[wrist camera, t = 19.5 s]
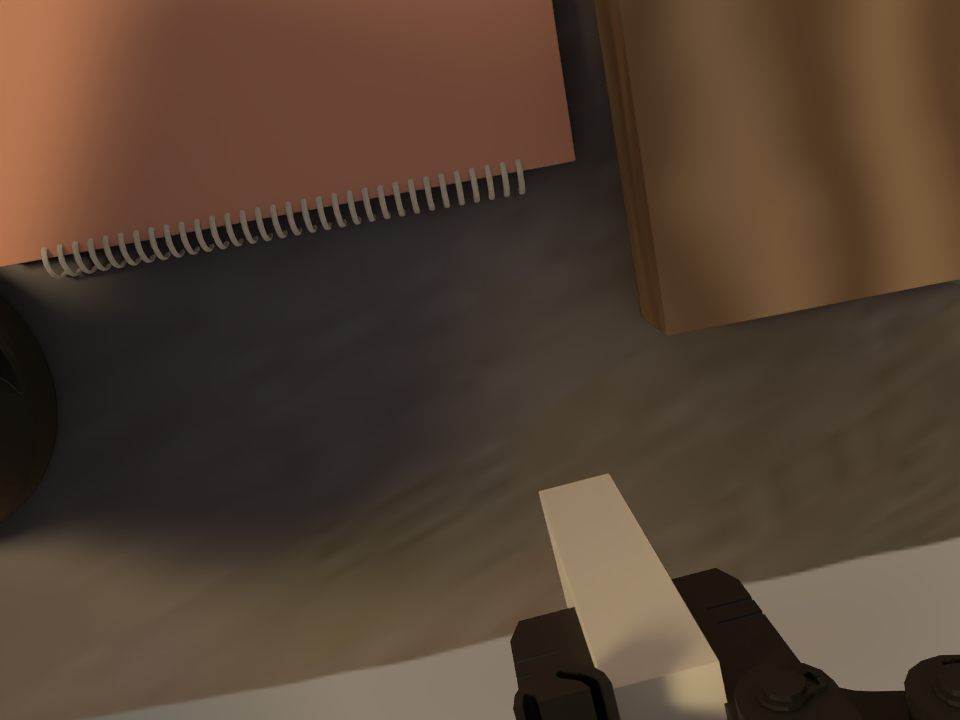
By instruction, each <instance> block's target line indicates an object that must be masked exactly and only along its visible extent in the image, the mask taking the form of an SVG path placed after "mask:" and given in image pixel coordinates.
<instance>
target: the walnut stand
mask: <svg viewBox="0 0 960 720" xmlns="http://www.w3.org/2000/svg"><path fill="white" fill-rule="evenodd" d="M594 5H595V11H596V18H597V25H598V31H599V38H600V44H601V51H602V58H603V64H604V71H605V78H606V84H607V91H608V98H609V104H610V111H611V117H612V124H613V131H614V137H615V144H616V151H617V157H618V164H619V170H620V177H621V184H622V190H623V197H624V204H625V210H626V217H627V223H628V230H629V237H630V243H631V250H632V257H633V263H634V270H635V276H636V283H637V290H638V296H639V303H640V310H641V316H642V317H643V318H644V319H646V320H647V321H648V322H649V323H651V324H652V325H653V326H655V327H656V328H657V329H658V330H660V331H661V332H662V333H664V334H665V335H666V336H670V335H675V334H681V333H686V332H691V331H696V330H701V329H706V328H711V327H717V326H722V325H727V324H732V323H737V322H742V321H747V320H753V319H758V318H763V317H768V316H773V315H778V314H783V313H788V312H794V311H799V310H804V309H809V308H814V307H819V306H824V305H830V304H835V303H840V302H845V301H850V300H855V299H860V298H865V297H871V296H876V295H881V294H886V293H891V292H896V291H901V290H907V289H912V288H917V287H922V286H927V285H932V284H937V283H942V282H948V281H953V280H958V279H960V0H594Z"/></svg>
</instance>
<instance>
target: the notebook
mask: <svg viewBox="0 0 960 720" xmlns="http://www.w3.org/2000/svg"><path fill="white" fill-rule="evenodd" d="M570 161H576V160H575V153H574V147H573V140H572V133H571V127H570V120H569V113H568V106H567V100H566V93H565V86H564V80H563V73H562V66H561V59H560V53H559V46H558V39H557V33H556V26H555V19H554V12H553V6H552V0H0V267H1V266H9V265H15V264H20V263H25V262H31V261H36V260H43V265H44V267H45V268H46V270H47V272H48V273H49V274H50V276H51V277H53V278H55V279H58V280H59V279H62V278H64V277H66V276H67V274H68V275H70V276H73V277H75V276H78V275H80V274H81V273H82V271H83V272H85V273H87V274H91V273H93V272H95V271H96V270H97V268H98V269H100V270H102V271H107V270H109V269H110V268H111V266H112V265H113V266H114V267H116V268H122V267H124V266H125V265H126V263H129V264H130V265H133V266H134V265H137V264H139V263H140V261H141V260H143V261H145V262H147V263H150V262H153V261H154V260H155V258H156V256H157V257H158V258H159V259H161V260H166V259H168V258H169V256H170V255H171V254H170V252H171V253H172V254H173V255H174V256H175V257H177V258H179V257H182V256H183V255H184V253H185V250H184V249H182V250H180V253H178V252H177V251H176V249H175V247H174V246H173V243H172V239H171V236H172V235H177V234H180V236H181V241H182V243H183V245H184V247H185V249H186V251H187V252H189V253H190V254H192V255H194V254H197V253H198V252H199V250H200V248H199V246H197V247H196V248H195V249H194V251H193V250H192V248H191V246H190V244H189V242H188V239H187V236H186V233H188V232H193V231H195V233H196V237H197V239H198V242H199V244H200V246H201V248H202V249H203V250H205V251H206V252H210V251H212V250H213V248H214V244H211V245H209V248H208V247H207V245H206V243H205V241H204V239H203V236H202V232H201V230H204V229H211V233H212V236H213V238H214V241H215V243H216V245H217V246H218V247H219V248H220V249H226V248H227V247H228V245H229V242H228V241H226V242H224V244H222V242H221V240H220V238H219V236H218V232H217V229H216V227H221V226H226V229H227V233H228V235H229V237H230V240H231V242H232V243H233V244H234V245H235V246H241V245H242V244H243V242H244V240H243V238H241V239H239V241H237V239H236V237H235V235H234V232H233V228H232V225H231V224H237V223H241V225H242V230H243V232H244V234H245V237H246V239H247V240H248V241H249V242H250V243H251V244H254V243H256V242H257V241H258V236H254V237H253V238H252V236H251V234H250V232H249V228H248V225H247V222H248V221H253V220H256V221H257V226H258V229H259V231H260V234H261V236H262V237H263V239H264V240H265V241H270V240H271V239H272V238H273V234H272V233H269V234H268V236H267V234H266V231H265V228H264V225H263V221H262V219H264V218H269V217H272V222H273V225H274V228H275V230H276V233H277V235H278V236H279V237H280V238H285V237H287V234H288V232H287V230H285V231H283V232H282V230H281V227H280V225H279V221H278V217H277V216H280V215H286V214H287V218H288V222H289V224H290V227H291V230H292V232H293V233H294V234H295V235H301V234H302V228H298V229H297V227H296V224H295V221H294V217H293V213H296V212H302V214H303V218H304V221H305V224H306V227H307V229H308V230H309V232H311V233H313V232H316V231H317V226H316V225H313V226H312V223H311V221H310V217H309V213H308V210H313V209H318V214H319V217H320V220H321V223H322V226H323V227H324V229H325V230H329V229H331V227H332V224H331V222H328V223H327V220H326V217H325V213H324V209H323V208H324V207H329V206H333V210H334V214H335V217H336V220H337V223H338V225H339V226H340V227H345V226H346V223H347V221H346V220H345V219H344V220H342V217H341V214H340V210H339V205H340V204H345V203H348V205H349V210H350V213H351V217H352V220H353V222H354V224H356V225H358V224H360V223H361V218H360V217H357V214H356V210H355V205H354V202H356V201H361V200H363V201H364V206H365V210H366V213H367V217H368V219H369V221H371V222H373V221H375V220H376V215H375V214H373V213H372V210H371V206H370V201H369V199H372V198H378V197H379V202H380V206H381V210H382V213H383V216H384V218H385V219H389V218H390V217H391V213H390V211H388V210H387V206H386V202H385V197H384V196H389V195H394V196H395V201H396V205H397V210H398V213H399V216H405V213H406V212H405V209H403V206H402V202H401V197H400V193H405V192H410V197H411V202H412V207H413V210H414V213H415V214H419V212H420V207H418V203H417V198H416V193H415V191H416V190H421V189H425V193H426V198H427V203H428V207H429V210H430V211H434V210H435V204H434V203H433V199H432V193H431V188H432V187H437V186H440V188H441V194H442V199H443V203H444V207H445V208H449V207H450V202H449V199H448V194H447V189H446V185H448V184H454V183H456V188H457V194H458V200H459V204H460V205H464V204H465V201H464V195H463V189H462V183H461V182H464V181H470V180H471V184H472V190H473V196H474V202H475V203H478V202H479V201H480V197H479V191H478V184H477V179H481V178H487V185H488V191H489V194H488V196H489V199H490V200H494V198H495V193H494V185H493V179H492V176H497V175H502V180H503V187H504V191H503V194H504V196H505V197H509V196H510V187H509V180H508V173H513V172H517V175H518V182H519V188H518V192H519V194H524V193H525V182H524V175H523V171H524V170H529V169H535V168H540V167H546V166H551V165H557V164H562V163H565V162H570ZM161 237H165V240H166V244H167V246H168V248H169V250H170V252H167V253H165V256H163V255H162V254H161V252H160V250H159V248H158V246H157V243H156V240H155V239H156V238H161ZM145 240H150V244H151V247H152V249H153V251H154V253H155V255H156V256H155V255H152V256H151V257H150V259H148V258H147V257H146V255H145V253H144V252H143V249H142V246H141V243H140V241H145ZM128 243H135V248H136V250H137V252H138V254H139V256H140V257H141V258H140V257H138V258H137V259H136V260H135V262H134V261H133V260H132V259H131V258H130V256H129V255H128V253H127V250H126V247H125V244H128ZM118 245H119V247H120V251H121V253H122V255H123V257H124V259H125V260H123V261H122V262H121V264H120V265H119V264H118V263H117V262H116V261H115V259H114V257H113V256H112V253H111V250H110V247H112V246H118ZM101 248H104V251H105V255H106V256H107V258H108V260H109V261H110V263H108V264H107V265H106V267H105V268H104V267H103V266H102V265H101V264H100V262H99V261H98V259H97V256H96V253H95V250H96V249H101ZM85 251H89V254H90V258H91V259H92V261H93V263H94V264H95V266H93V267H92V269H91V270H89V269H87V268H86V266H85V265H84V264H83V262H82V259H81V257H80V254H79V253H80V252H85ZM69 254H74V258H75V261H76V262H77V264H78V266H79V267H80V268H79V269H78V270H77V271H76V273H74V272H72V271H71V270H70V268H69V267H68V266H67V264H66V261H65V258H64V256H63V255H69ZM53 257H58V259H59V263H60V265H61V266H62V268H63V269H64V272H63V273H62V274H61V275H60V276H59V275H57V274H56V273H55V272H54V271H53V269H52V268H51V266H50V263H49V261H48V258H53Z"/></svg>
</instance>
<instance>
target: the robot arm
mask: <svg viewBox="0 0 960 720" xmlns="http://www.w3.org/2000/svg"><path fill="white" fill-rule="evenodd" d="M56 429H57V404H56V396H55V390H54V385H53V381H52V378H51V374H50V371H49V368H48V365H47V362H46V360H45V358H44V355H43V353H42V351H41V349H40V347H39V345H38V343H37V341H36V339H35V338H34V336H33V335H32V333H31V331H30V330H29V328H28V327H27V326H26V324H25V323H24V321H23V320H22V319H21V317H20V316H19V315H18V314H17V313H16V312H15V310H14V309H13V308H12V307H11V306H10V305H9V304H8V303H7V302H6V301H5V300H4V299H3V298H2V297H1V296H0V522H2V521H3V520H4V519H6V518H7V517H8V516H10V515H11V514H12V513H13V512H14V511H16V510H17V509H18V508H19V507H20V506H21V505H22V504H23V503H24V502H25V501H26V500H27V498H28V497H29V496H30V495H31V494H32V492H33V491H34V489H35V488H36V487H37V485H38V483H39V482H40V480H41V478H42V476H43V474H44V472H45V470H46V468H47V466H48V463H49V460H50V458H51V454H52V451H53V447H54V442H55V437H56ZM539 496H540V500H541V504H542V508H543V512H544V516H545V520H546V524H547V528H548V532H549V536H550V540H551V544H552V548H553V552H554V556H555V560H556V564H557V568H558V572H559V576H560V580H561V584H562V588H563V592H564V596H565V600H566V604H567V607H568V609H564V610H560V611H557V612H553V613H549V614H545V615H541V616H537V617H533V618H530V619H526V620H522V621H519V622H518V625H517V627H516V629H515V632H514V634H513V636H512V639H511V641H510V642H511V648H512V653H513V660H514V664H515V671H516V677H517V682H518V688H519V690H518V692H517V693H516V694H515V698H514V707H513V709H514V713H515V716H516V720H960V655H940V656H936V657H933V658H929V659H926V660H923V661H920V662H919V663H918V664H917V665H915V666H914V667H913V668H911V669H910V670H909V671H908V674H907V677H906V679H905V682H904V684H905V691H853V690H849V689H844V688H839V687H838V685H837V684H836V683H835V682H834V680H833V679H831V678H830V677H829V676H828V675H826V674H825V673H824V672H823V671H822V670H820V669H817V668H815V667H812V666H810V665H807V664H805V663H801V662H800V661H799V660H798V658H797V657H796V656H795V655H794V653H793V652H792V650H791V649H790V648H789V646H788V645H787V644H786V642H785V641H784V640H783V638H782V637H781V636H780V635H779V633H778V632H777V630H776V629H775V628H774V626H773V625H772V624H771V623H770V621H769V620H768V619H767V617H766V616H765V615H763V613H762V610H761V609H760V608H759V606H758V605H757V604H756V602H755V601H754V600H752V598H751V596H750V594H749V593H748V592H747V590H746V589H745V588H744V586H743V585H742V584H741V582H740V581H739V580H738V579H736V578H734V577H732V576H730V575H728V574H727V573H725V572H723V571H721V570H719V569H717V568H714V569H710V570H706V571H702V572H698V573H694V574H690V575H687V576H683V577H679V578H675V579H670V577H669V575H668V574H667V572H666V570H665V569H664V567H663V565H662V563H661V562H660V560H659V558H658V557H657V555H656V553H655V552H654V550H653V548H652V546H651V545H650V543H649V541H648V540H647V538H646V536H645V534H644V533H643V531H642V529H641V528H640V526H639V524H638V523H637V521H636V519H635V517H634V516H633V514H632V512H631V511H630V509H629V507H628V506H627V504H626V502H625V500H624V499H623V497H622V495H621V494H620V492H619V490H618V488H617V487H616V485H615V483H614V482H613V480H612V478H611V477H610V475H609V473H608V474H604V475H600V476H596V477H593V478H589V479H585V480H581V481H577V482H573V483H569V484H566V485H562V486H558V487H554V488H550V489H546V490H542V491H539Z"/></svg>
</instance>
